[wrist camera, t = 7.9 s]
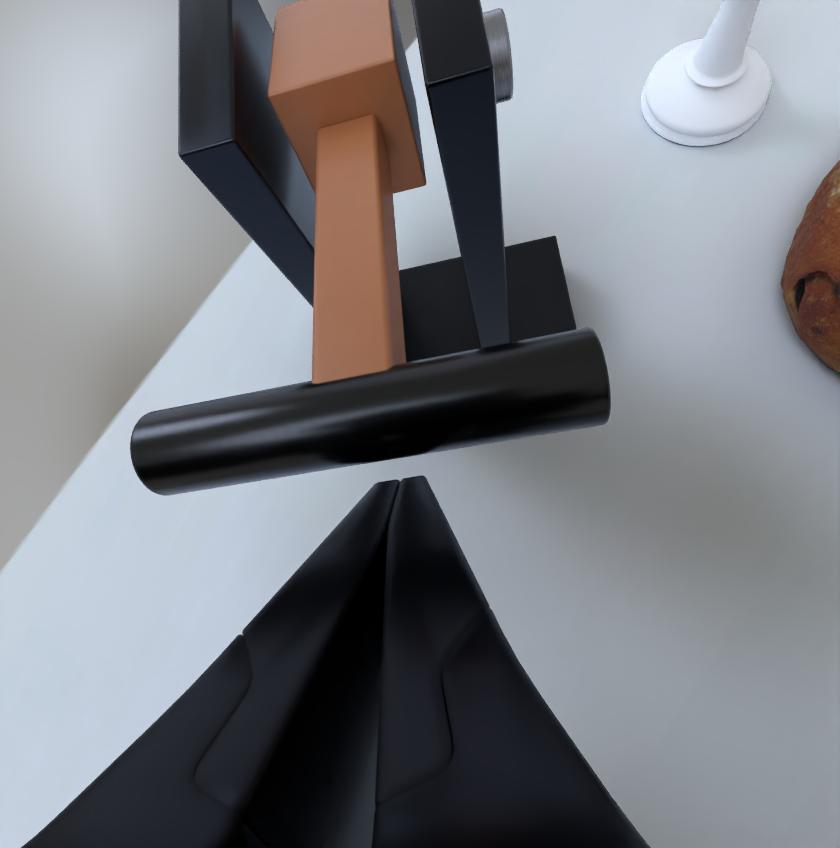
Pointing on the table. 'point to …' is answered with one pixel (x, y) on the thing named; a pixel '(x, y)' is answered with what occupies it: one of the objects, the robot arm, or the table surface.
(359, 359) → the brown black t-shaped piece
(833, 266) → the bread roll
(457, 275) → the stand
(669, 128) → the chess piece
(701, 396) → the table surface
